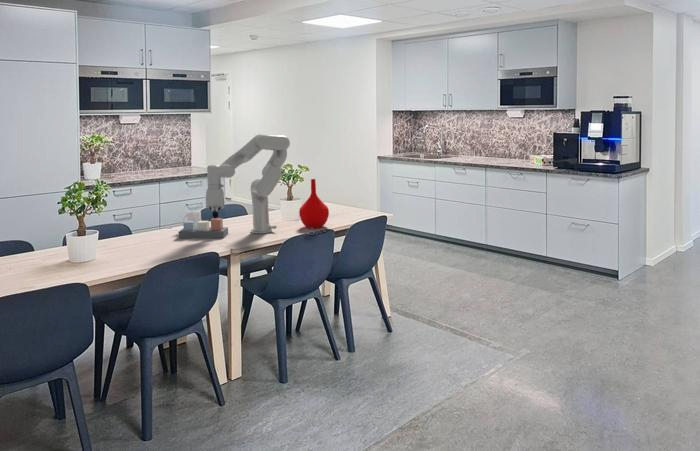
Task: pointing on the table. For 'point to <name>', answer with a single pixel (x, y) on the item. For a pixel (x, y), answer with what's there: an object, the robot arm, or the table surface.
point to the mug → (193, 216)
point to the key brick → (216, 224)
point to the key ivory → (202, 225)
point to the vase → (314, 210)
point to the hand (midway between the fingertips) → (215, 218)
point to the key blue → (189, 225)
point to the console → (203, 233)
